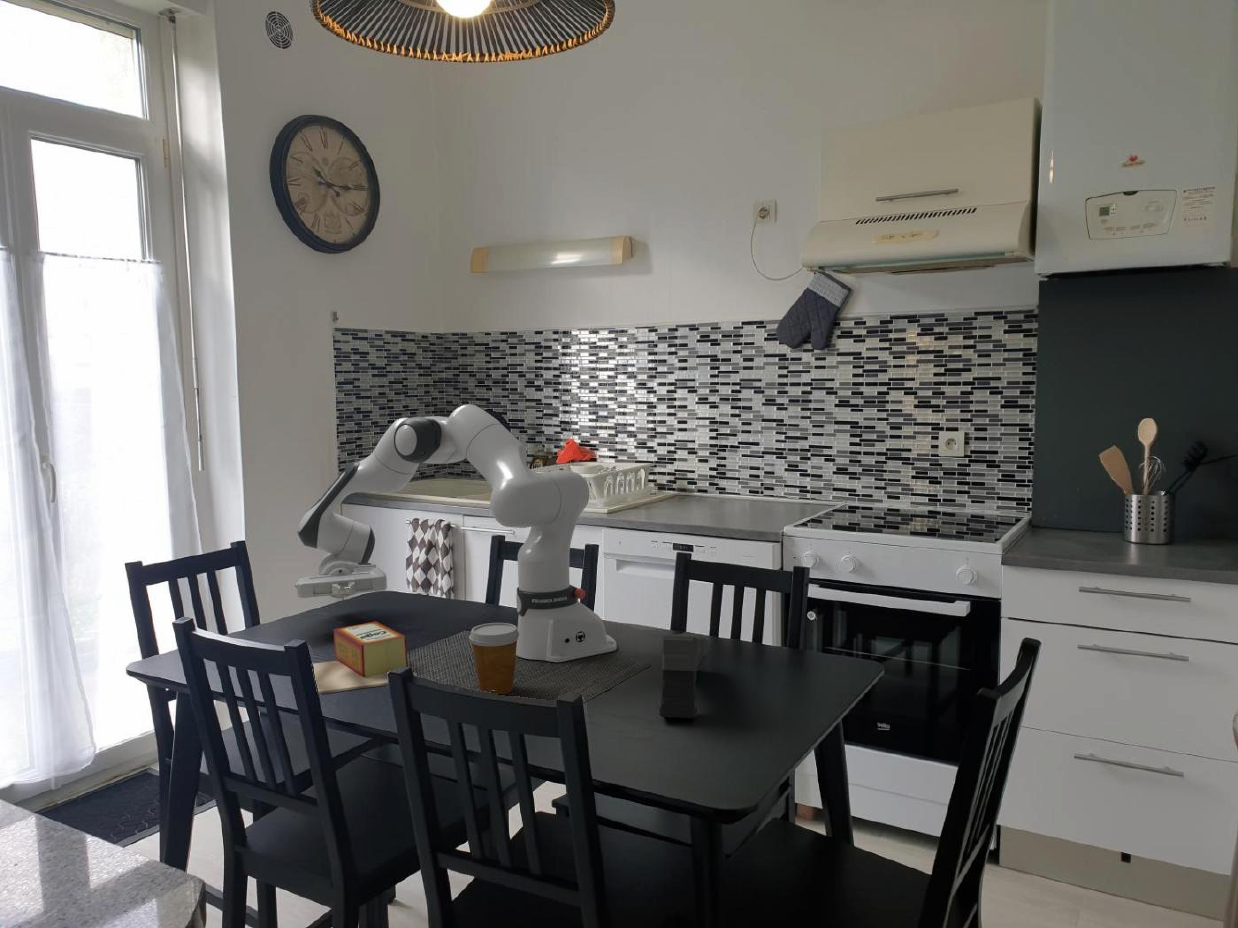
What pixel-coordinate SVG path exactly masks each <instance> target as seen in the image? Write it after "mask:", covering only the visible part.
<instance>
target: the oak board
mask: <svg viewBox="0 0 1238 928" xmlns="http://www.w3.org/2000/svg"><path fill="white" fill-rule="evenodd" d="M312 664H313V666H314V674H315V679H314V681H315V680H316V684H317V688H318V695H324V694H330V693H331V694H332V693H338V692H346V691H351V690H352V691H354V690H359V689H361V690H362V689H367V688H368V689H369V688H374V687H382V686H383V687H384V686H389V685H388V681H387V672H385V673H380V674H376V675H371V676H367V677H362V676H360V675H359V674H357V673H356V672H354V671H353V670H351V669H350V668H348V667H347V666H345V665H343V664H342V663H340V662H339V661H337V660H333V661H330V660H329V661H324V662H317V663H312ZM314 674H313V675H314ZM316 684H315V685H316Z"/></svg>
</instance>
